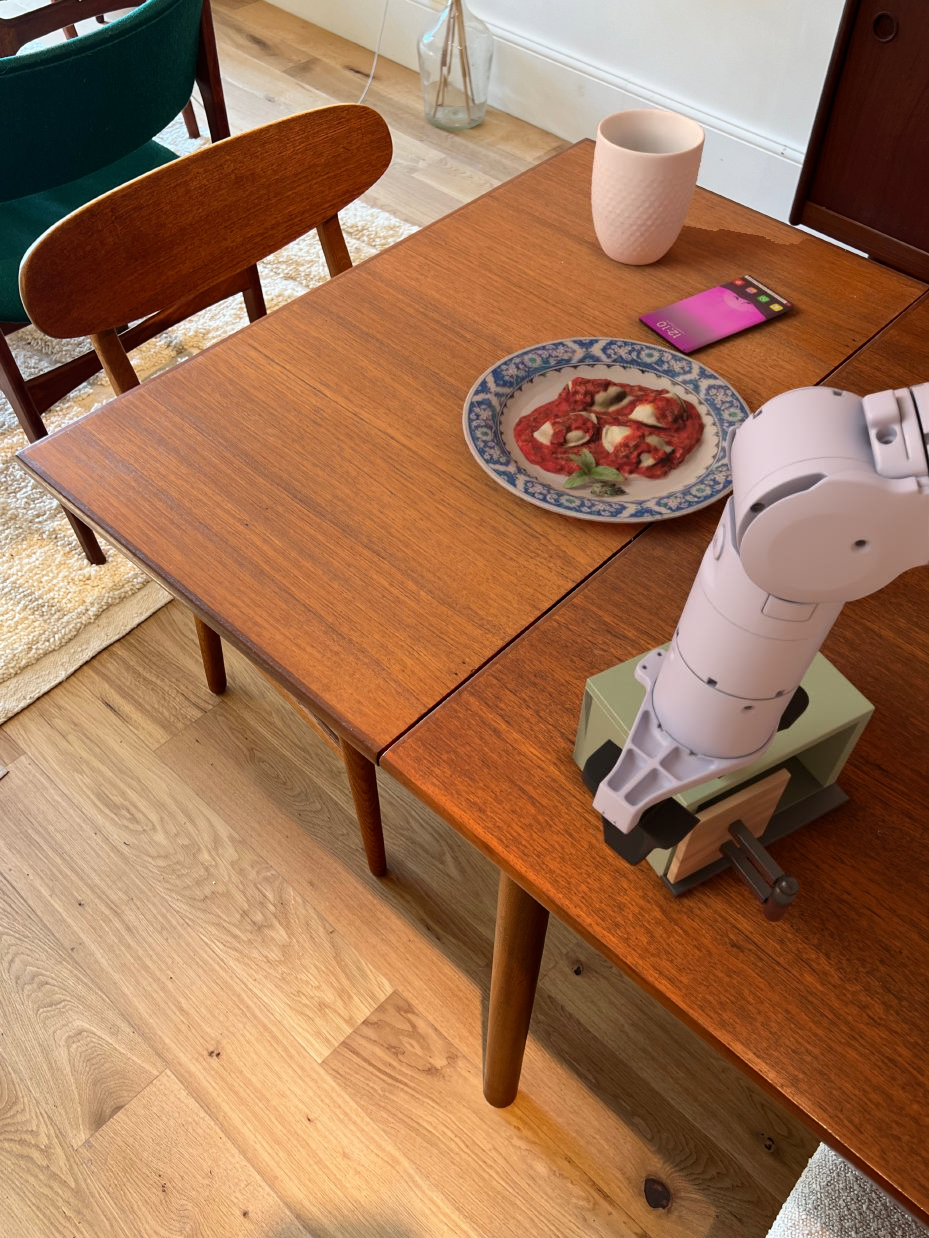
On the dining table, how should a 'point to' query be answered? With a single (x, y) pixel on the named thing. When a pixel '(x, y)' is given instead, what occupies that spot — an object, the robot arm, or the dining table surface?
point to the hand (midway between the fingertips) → (666, 805)
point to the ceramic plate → (605, 429)
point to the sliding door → (741, 844)
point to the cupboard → (802, 750)
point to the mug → (643, 182)
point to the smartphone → (716, 314)
